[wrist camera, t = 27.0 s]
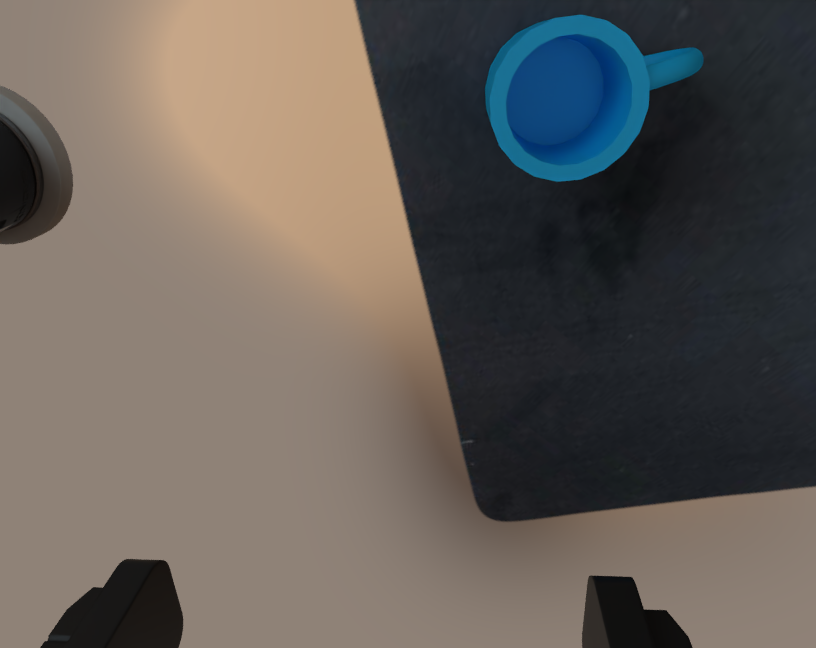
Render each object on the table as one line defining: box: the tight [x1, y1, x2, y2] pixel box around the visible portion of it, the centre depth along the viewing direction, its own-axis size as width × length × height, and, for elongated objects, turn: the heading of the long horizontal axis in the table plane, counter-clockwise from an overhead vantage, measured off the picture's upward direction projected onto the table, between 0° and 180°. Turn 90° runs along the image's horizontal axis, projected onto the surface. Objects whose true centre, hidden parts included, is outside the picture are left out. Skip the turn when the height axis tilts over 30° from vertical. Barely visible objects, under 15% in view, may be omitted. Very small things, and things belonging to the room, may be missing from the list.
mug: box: [485, 15, 703, 182], centre depth 35 cm, size 12×8×8 cm
